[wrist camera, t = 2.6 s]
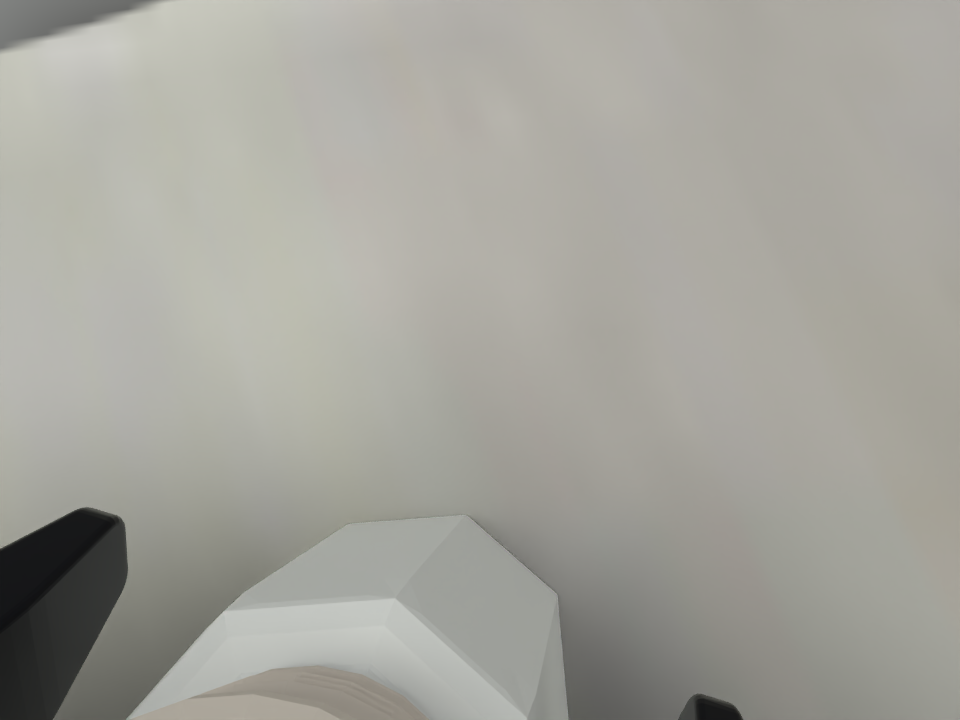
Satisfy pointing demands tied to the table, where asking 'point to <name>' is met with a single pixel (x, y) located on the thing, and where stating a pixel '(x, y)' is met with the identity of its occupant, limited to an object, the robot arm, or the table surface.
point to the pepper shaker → (379, 635)
